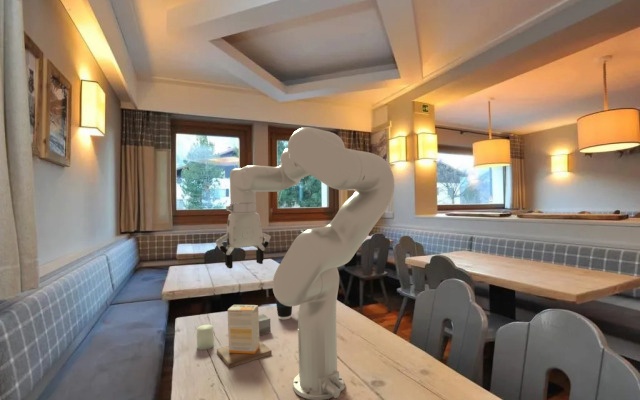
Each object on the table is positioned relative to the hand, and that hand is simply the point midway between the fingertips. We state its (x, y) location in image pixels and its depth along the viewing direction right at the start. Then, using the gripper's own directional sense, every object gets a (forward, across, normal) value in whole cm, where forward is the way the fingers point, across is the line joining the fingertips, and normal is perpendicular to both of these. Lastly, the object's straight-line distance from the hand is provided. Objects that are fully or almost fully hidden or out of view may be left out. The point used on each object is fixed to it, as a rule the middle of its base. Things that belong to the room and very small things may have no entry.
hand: (245, 265), depth 99 cm
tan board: (+27, -1, 0) cm, 27 cm away
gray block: (+27, +10, +12) cm, 31 cm away
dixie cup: (+27, +24, +19) cm, 41 cm away
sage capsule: (+26, -9, +13) cm, 31 cm away
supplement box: (+26, -1, 0) cm, 26 cm away
